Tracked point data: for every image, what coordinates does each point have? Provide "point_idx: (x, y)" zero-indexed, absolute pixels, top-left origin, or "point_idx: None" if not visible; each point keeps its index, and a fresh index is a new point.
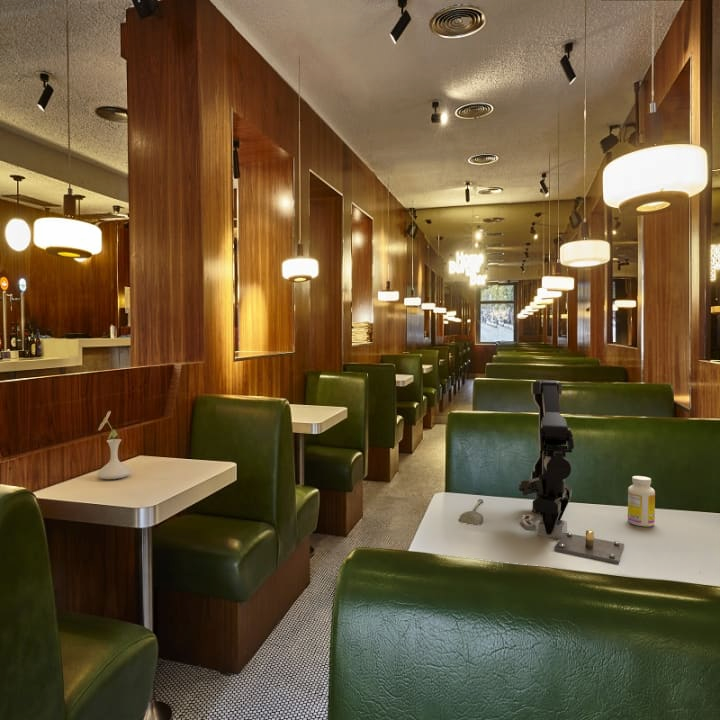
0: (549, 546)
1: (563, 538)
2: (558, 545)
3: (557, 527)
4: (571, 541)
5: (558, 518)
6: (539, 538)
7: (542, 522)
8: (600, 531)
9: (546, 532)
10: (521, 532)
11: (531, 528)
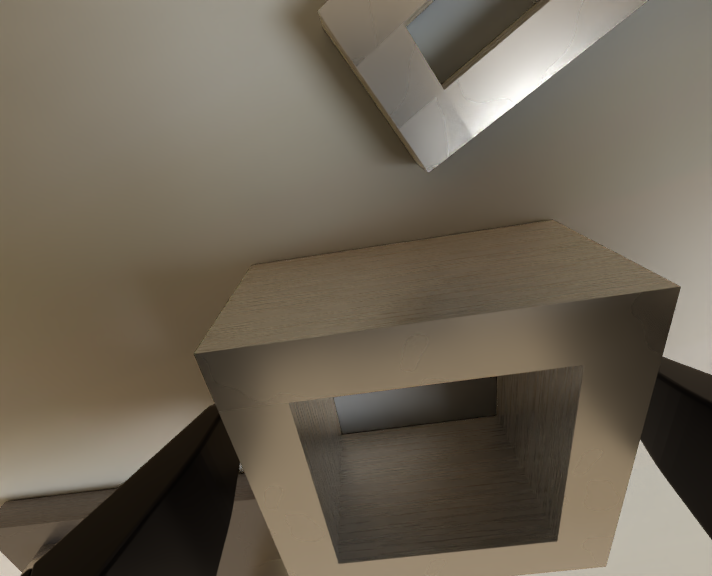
0: (54, 452)
1: (258, 515)
2: (57, 536)
3: (287, 553)
4: (243, 563)
5: (688, 478)
6: (152, 323)
7: (304, 389)
8: (688, 569)
9: (198, 418)
10: (132, 33)
11: (381, 110)
